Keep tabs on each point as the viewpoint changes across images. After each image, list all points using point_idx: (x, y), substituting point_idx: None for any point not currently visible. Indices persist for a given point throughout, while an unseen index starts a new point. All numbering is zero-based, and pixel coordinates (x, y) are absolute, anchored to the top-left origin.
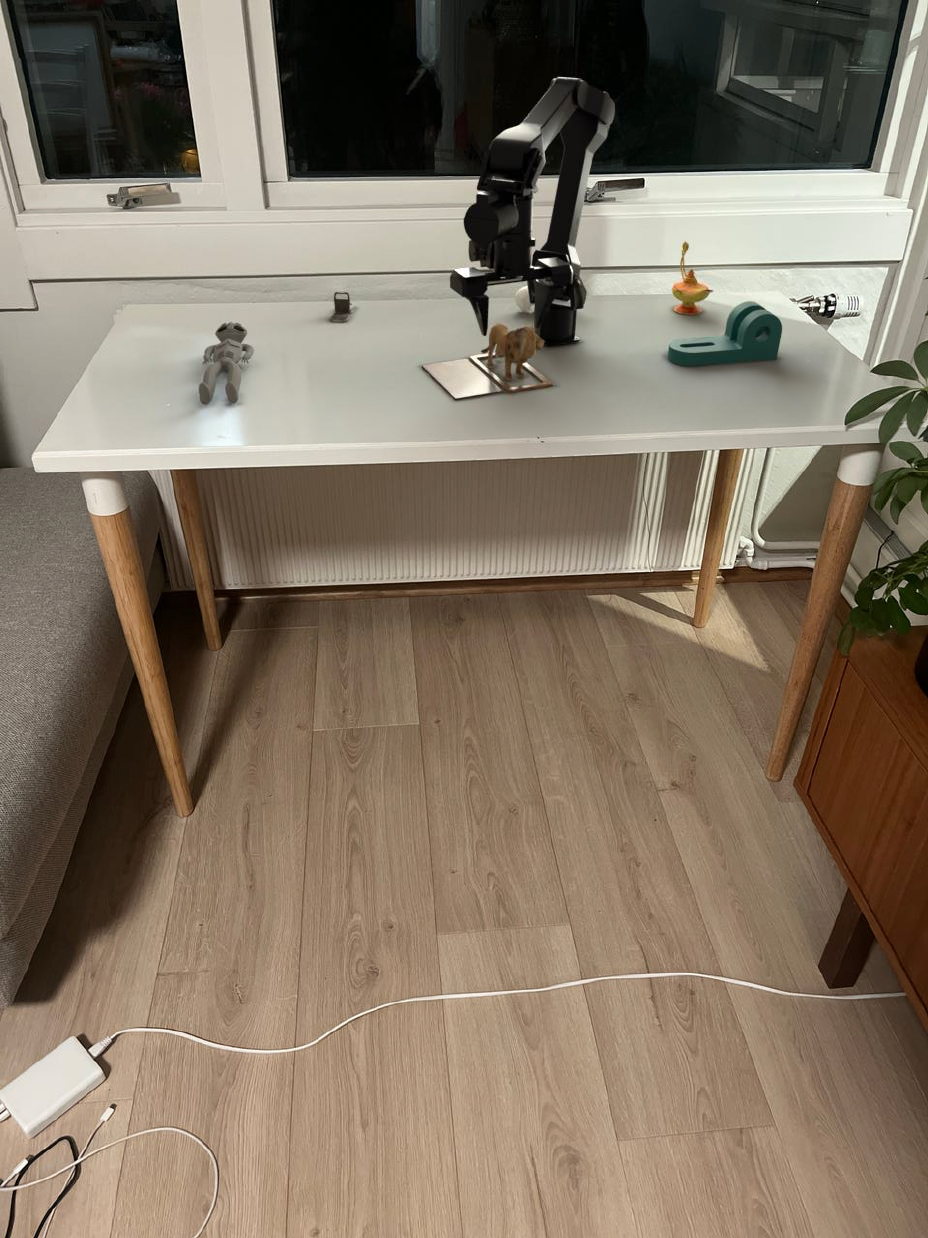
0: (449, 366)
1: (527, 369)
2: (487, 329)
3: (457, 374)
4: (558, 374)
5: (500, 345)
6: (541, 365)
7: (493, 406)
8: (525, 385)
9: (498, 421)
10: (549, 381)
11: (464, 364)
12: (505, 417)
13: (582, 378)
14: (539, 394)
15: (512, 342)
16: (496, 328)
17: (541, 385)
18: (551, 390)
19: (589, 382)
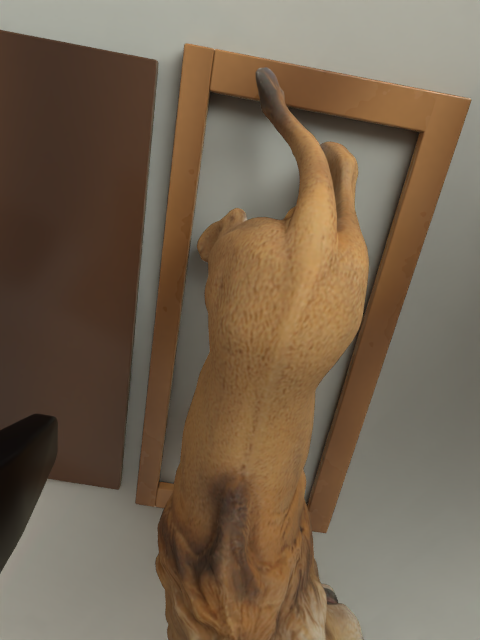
0: (10, 125)
1: (349, 370)
2: (29, 518)
3: (11, 251)
4: (427, 460)
5: (182, 437)
6: (448, 349)
7: (35, 547)
8: None
9: (4, 621)
10: (327, 516)
11: (101, 147)
12: (36, 613)
13: (469, 529)
14: None
15: (166, 611)
16: (226, 358)
17: None
18: None
19: (458, 563)
